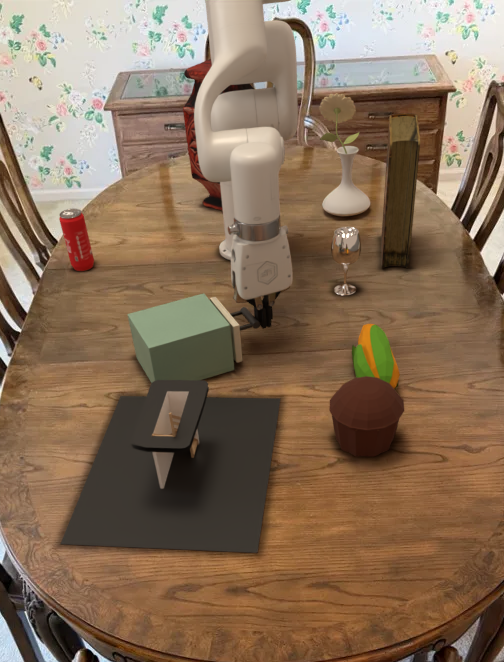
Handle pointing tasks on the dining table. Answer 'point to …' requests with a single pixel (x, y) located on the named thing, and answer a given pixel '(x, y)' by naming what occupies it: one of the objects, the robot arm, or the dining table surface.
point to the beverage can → (76, 239)
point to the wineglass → (345, 254)
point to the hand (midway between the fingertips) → (264, 324)
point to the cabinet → (182, 340)
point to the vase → (213, 188)
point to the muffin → (366, 415)
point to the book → (400, 188)
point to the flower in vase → (343, 160)
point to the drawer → (236, 326)
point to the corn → (375, 356)
